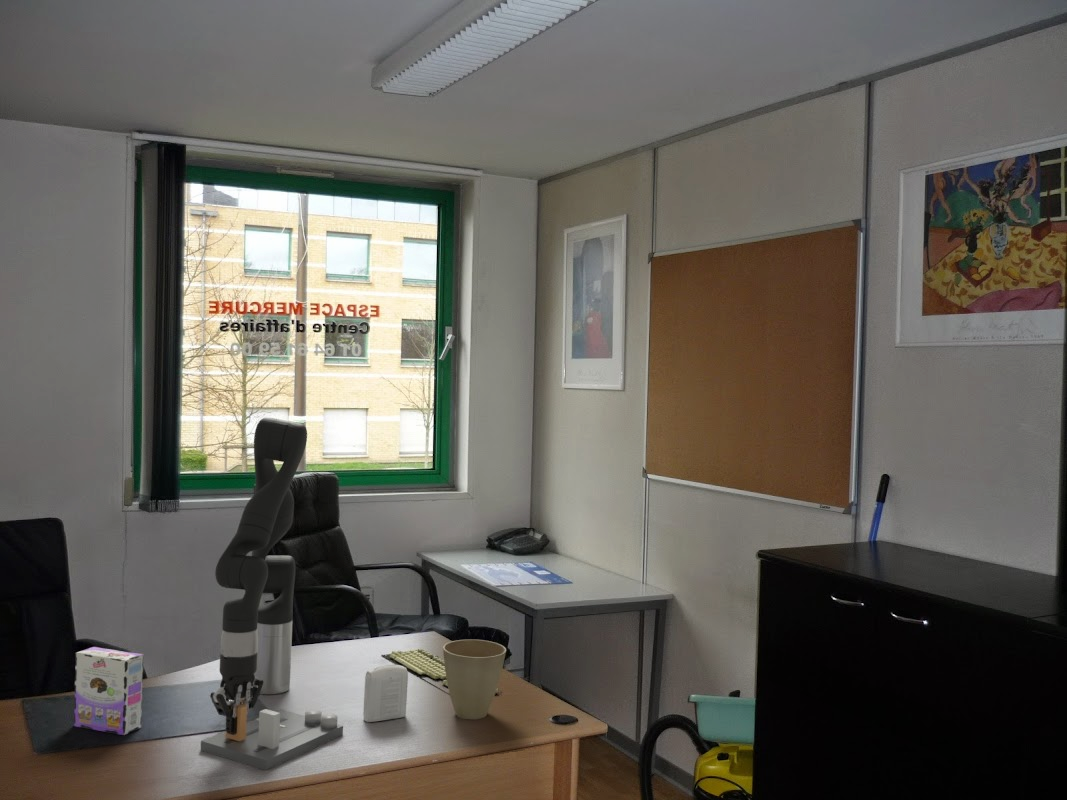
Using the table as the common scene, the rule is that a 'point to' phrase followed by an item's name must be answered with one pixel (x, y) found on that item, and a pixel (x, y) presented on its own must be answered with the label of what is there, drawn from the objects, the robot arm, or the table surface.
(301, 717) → the console
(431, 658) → the keyboard
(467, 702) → the plant pot
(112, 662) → the candy box
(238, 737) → the fader cap
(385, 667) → the photo printer
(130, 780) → the table surface
